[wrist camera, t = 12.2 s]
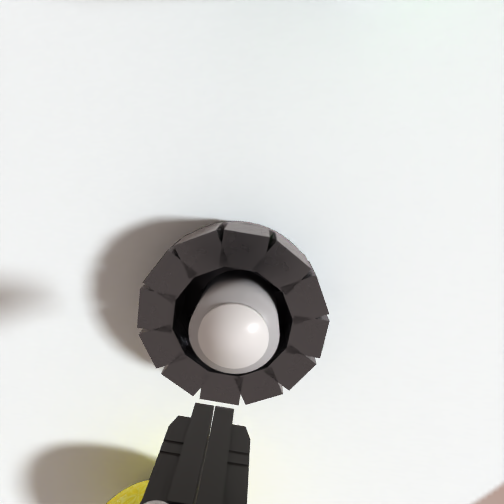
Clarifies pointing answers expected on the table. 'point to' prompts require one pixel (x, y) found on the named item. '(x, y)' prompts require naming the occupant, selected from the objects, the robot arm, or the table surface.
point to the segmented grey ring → (189, 294)
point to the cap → (235, 323)
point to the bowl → (130, 494)
